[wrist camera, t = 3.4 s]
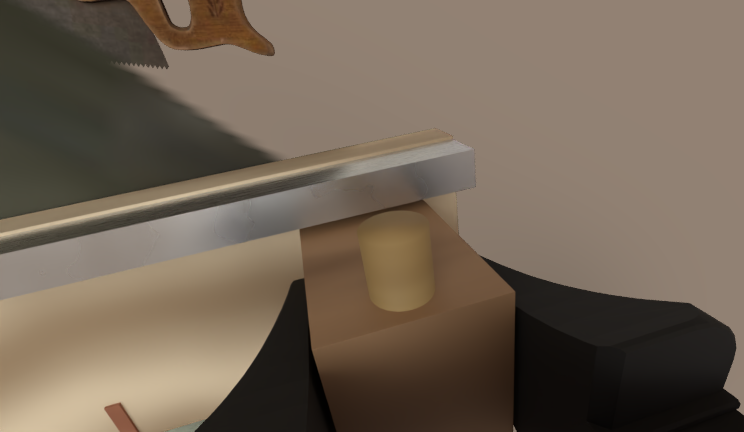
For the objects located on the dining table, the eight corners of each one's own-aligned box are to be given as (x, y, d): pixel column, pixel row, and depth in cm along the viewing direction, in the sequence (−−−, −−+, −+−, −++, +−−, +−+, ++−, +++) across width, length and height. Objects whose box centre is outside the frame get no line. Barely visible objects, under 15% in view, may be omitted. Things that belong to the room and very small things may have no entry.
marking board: (450, 318, 17) (483, 369, 14) (31, 440, 15) (-27, 529, 12) (435, 128, 13) (475, 146, 11) (-135, 248, 11) (-279, 313, 8)
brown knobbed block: (430, 334, 15) (512, 486, 10) (336, 362, 15) (369, 538, 9) (409, 147, 12) (516, 223, 6) (286, 175, 11) (291, 281, 6)
